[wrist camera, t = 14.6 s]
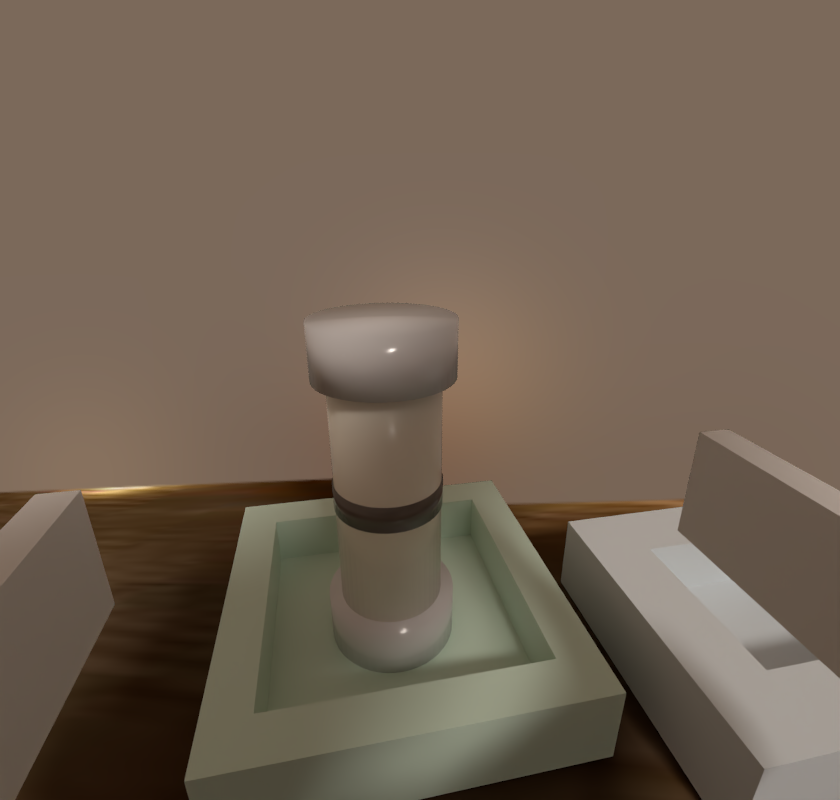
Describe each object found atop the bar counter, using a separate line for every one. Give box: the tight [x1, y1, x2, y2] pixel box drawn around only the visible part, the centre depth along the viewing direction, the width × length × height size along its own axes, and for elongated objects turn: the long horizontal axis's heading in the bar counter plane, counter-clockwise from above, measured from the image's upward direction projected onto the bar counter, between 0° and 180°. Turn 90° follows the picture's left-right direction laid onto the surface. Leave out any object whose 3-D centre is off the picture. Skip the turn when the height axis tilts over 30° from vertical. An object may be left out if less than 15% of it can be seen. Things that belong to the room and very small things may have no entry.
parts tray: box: [184, 481, 626, 800], centre depth 21 cm, size 13×13×3 cm
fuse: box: [304, 303, 458, 673], centre depth 19 cm, size 5×5×13 cm
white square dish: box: [561, 507, 840, 800], centre depth 20 cm, size 11×11×4 cm
